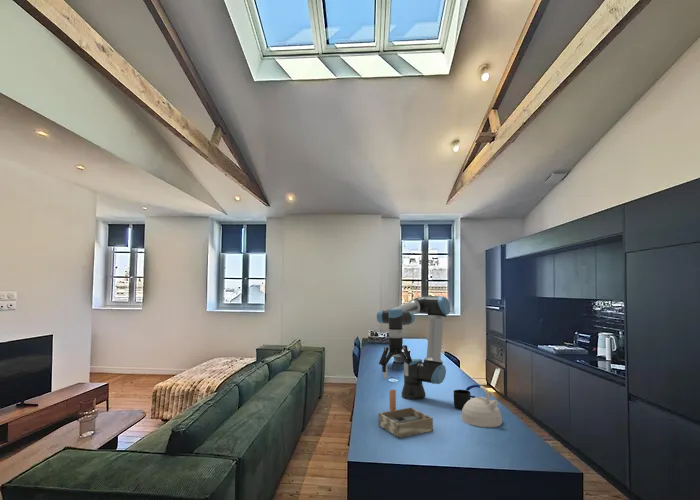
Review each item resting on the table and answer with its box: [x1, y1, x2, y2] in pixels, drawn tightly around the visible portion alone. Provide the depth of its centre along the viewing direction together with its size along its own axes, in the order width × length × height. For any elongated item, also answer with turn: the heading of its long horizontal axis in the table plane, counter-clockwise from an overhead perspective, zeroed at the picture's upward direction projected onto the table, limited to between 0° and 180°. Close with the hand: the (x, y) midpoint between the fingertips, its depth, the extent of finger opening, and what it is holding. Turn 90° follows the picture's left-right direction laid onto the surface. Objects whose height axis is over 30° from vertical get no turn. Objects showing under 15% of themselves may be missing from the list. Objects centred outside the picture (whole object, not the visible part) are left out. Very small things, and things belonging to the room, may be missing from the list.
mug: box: [453, 389, 475, 411], centre depth 221 cm, size 9×12×9 cm
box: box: [378, 407, 434, 438], centre depth 189 cm, size 18×20×6 cm
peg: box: [388, 389, 397, 411], centre depth 205 cm, size 3×3×14 cm
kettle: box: [461, 384, 503, 428], centre depth 200 cm, size 20×21×18 cm
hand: (396, 376), depth 206 cm, fingers open, 13 cm apart
